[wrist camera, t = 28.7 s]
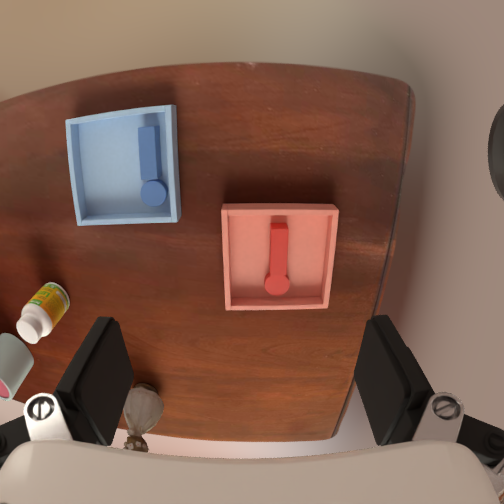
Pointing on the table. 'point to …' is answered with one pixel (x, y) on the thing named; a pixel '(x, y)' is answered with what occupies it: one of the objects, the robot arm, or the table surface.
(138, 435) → the figurine
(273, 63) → the table surface
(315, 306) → the red tray
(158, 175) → the blue spoon
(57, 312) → the supplement bottle
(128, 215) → the blue tray
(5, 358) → the mug
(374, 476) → the robot arm
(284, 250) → the red spoon
